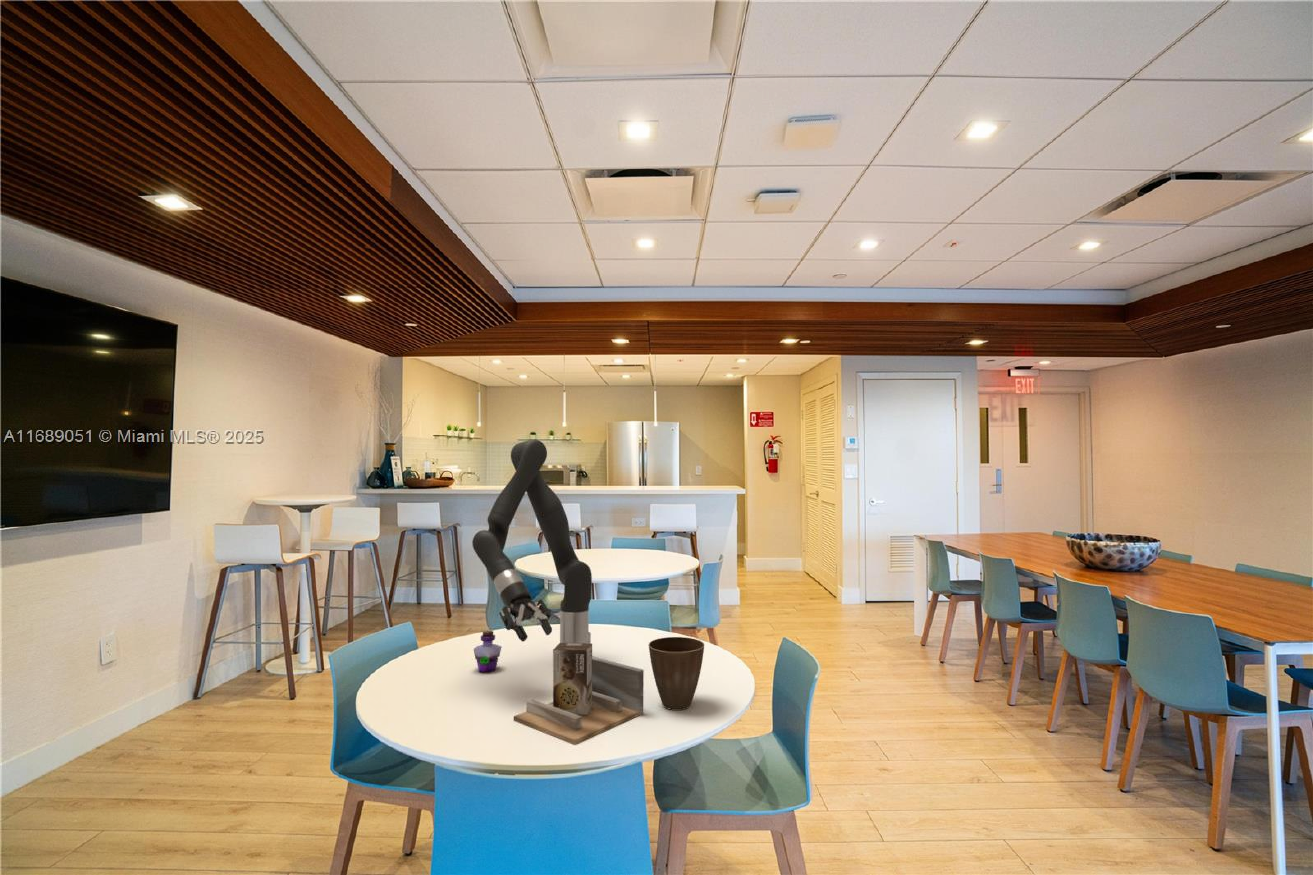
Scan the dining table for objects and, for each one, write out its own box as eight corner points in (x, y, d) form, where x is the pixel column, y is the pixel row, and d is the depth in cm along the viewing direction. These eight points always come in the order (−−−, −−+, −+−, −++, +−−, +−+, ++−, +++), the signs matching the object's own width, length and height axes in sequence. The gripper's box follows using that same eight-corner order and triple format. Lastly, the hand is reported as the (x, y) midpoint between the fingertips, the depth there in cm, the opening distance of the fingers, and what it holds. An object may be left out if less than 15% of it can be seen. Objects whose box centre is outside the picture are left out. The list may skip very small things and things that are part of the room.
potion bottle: (474, 675, 187) (475, 635, 188) (471, 667, 195) (472, 629, 196) (503, 672, 190) (504, 633, 191) (499, 664, 198) (500, 627, 199)
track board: (583, 694, 171) (583, 654, 172) (643, 713, 157) (643, 669, 158) (513, 720, 153) (514, 675, 153) (574, 744, 139) (575, 694, 139)
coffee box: (592, 706, 159) (593, 643, 161) (587, 715, 153) (587, 649, 154) (558, 704, 161) (559, 641, 162) (551, 714, 154) (552, 648, 155)
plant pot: (687, 720, 153) (687, 655, 154) (637, 708, 161) (637, 646, 162) (714, 702, 166) (713, 641, 167) (666, 692, 173) (666, 634, 174)
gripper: (496, 584, 168) (523, 633, 160) (537, 577, 179) (563, 623, 171) (484, 601, 171) (510, 650, 163) (525, 593, 182) (551, 639, 174)
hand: (537, 636), depth 167 cm, fingers open, 8 cm apart
